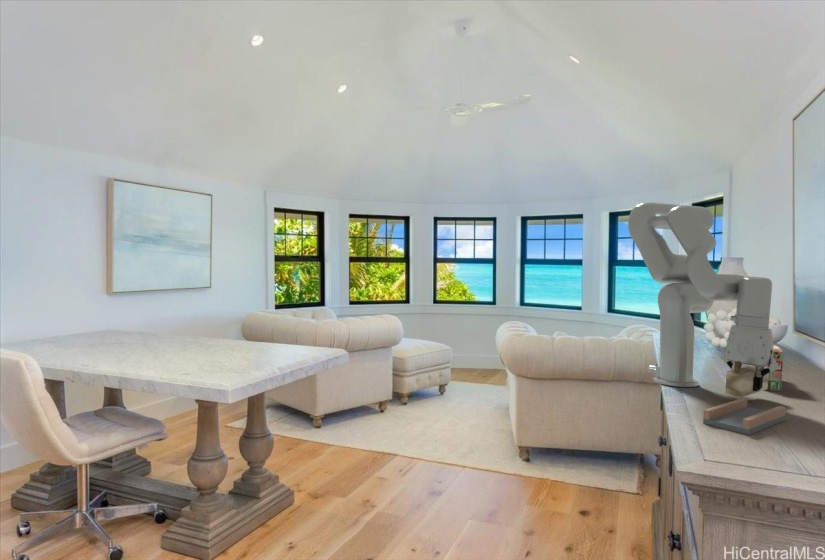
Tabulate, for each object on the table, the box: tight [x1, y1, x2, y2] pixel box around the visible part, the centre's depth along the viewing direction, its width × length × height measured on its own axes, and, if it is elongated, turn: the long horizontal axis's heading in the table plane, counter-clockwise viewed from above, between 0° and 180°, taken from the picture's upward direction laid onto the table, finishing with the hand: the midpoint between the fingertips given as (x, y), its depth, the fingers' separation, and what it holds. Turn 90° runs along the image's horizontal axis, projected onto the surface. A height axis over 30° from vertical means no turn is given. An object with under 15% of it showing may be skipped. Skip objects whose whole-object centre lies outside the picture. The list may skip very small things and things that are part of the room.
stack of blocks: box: [749, 344, 784, 392], centre depth 159 cm, size 21×6×12 cm, turn 151°
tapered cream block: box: [724, 361, 769, 398], centre depth 136 cm, size 4×16×9 cm, turn 124°
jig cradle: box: [702, 397, 787, 436], centre depth 118 cm, size 9×20×3 cm, turn 125°
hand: (746, 387), depth 136 cm, fingers closed on tapered cream block, 4 cm apart
